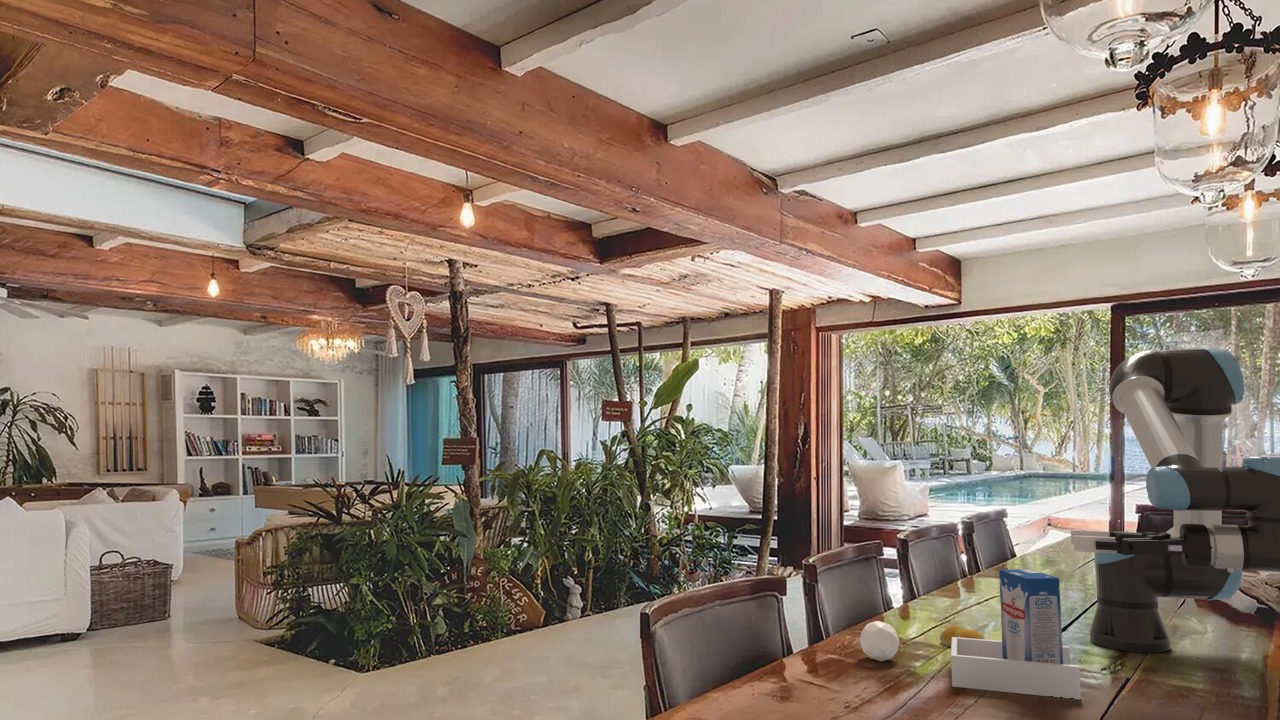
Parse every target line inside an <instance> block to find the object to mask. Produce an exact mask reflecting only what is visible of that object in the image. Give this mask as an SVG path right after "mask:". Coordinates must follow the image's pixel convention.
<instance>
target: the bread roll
mask: <svg viewBox="0 0 1280 720" xmlns="http://www.w3.org/2000/svg"><path fill="white" fill-rule="evenodd" d="M952 637H960V638H972V639H984V640H985V637H984V635H983V634H982V633H981V632H980V631H977V630H973V629H965V628H963V627H961V626H958V625H951V626H948V627H946V628H945V629H944V630H943V631H942V632H941V633H940V634H939V640H940V642H941V643H942V644H943V645H945V646H948V647H951V645H952Z"/></svg>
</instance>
